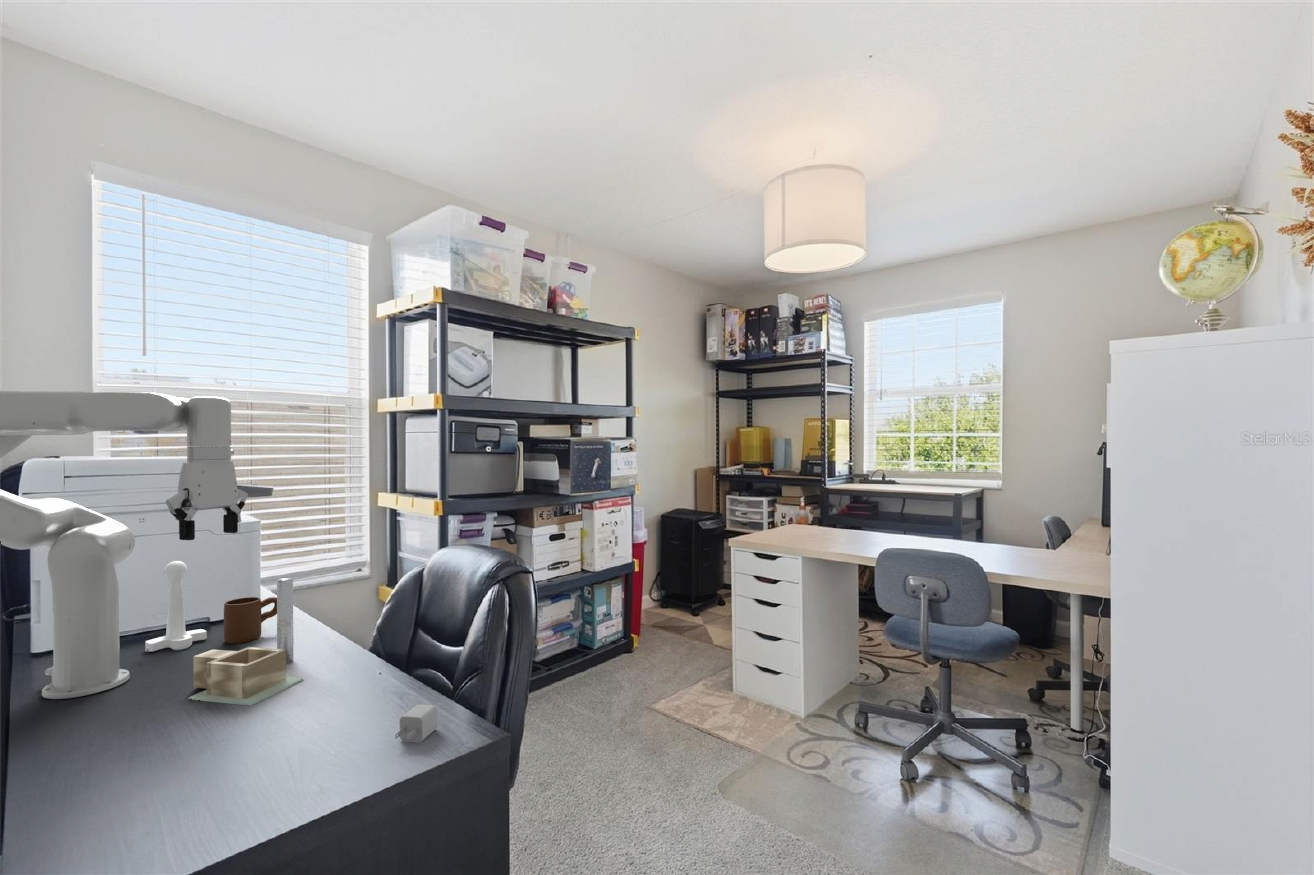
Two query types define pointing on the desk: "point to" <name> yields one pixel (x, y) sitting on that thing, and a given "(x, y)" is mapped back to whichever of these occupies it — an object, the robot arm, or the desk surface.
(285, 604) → the post
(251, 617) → the mug
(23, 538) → the robot arm
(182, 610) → the joystick
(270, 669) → the beige wooden open box
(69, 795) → the desk surface
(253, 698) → the mat
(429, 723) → the usb wall charger
